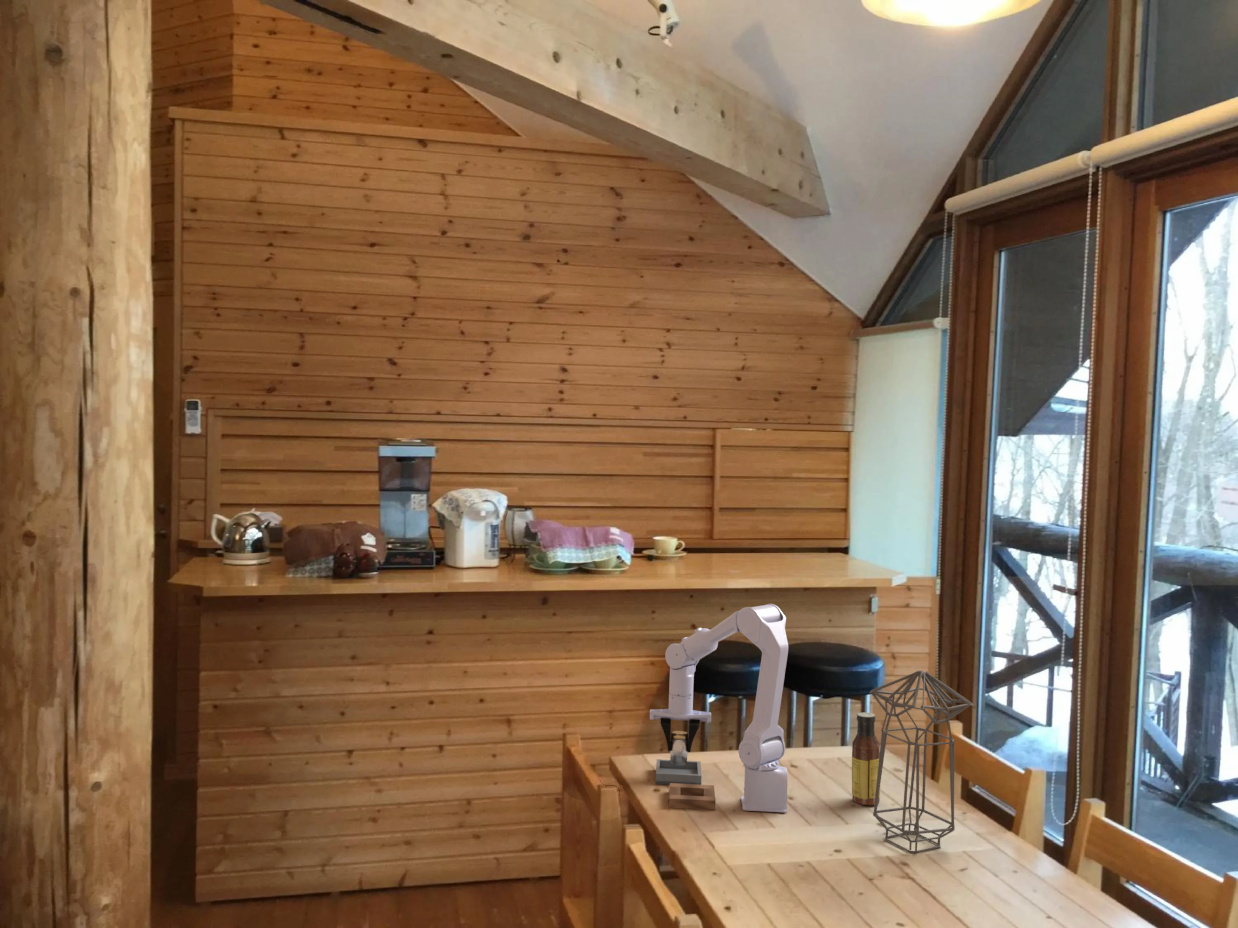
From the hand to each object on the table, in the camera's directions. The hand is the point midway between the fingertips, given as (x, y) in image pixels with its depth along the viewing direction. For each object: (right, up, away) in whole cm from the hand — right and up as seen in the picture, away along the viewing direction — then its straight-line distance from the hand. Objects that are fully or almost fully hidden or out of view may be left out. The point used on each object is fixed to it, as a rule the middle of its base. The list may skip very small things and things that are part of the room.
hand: (679, 750), depth 240 cm
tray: (0, -7, 0) cm, 6 cm away
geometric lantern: (+46, -9, -35) cm, 58 cm away
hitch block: (+2, -7, -15) cm, 17 cm away
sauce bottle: (+41, -8, -12) cm, 44 cm away
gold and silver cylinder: (0, -3, 0) cm, 3 cm away
